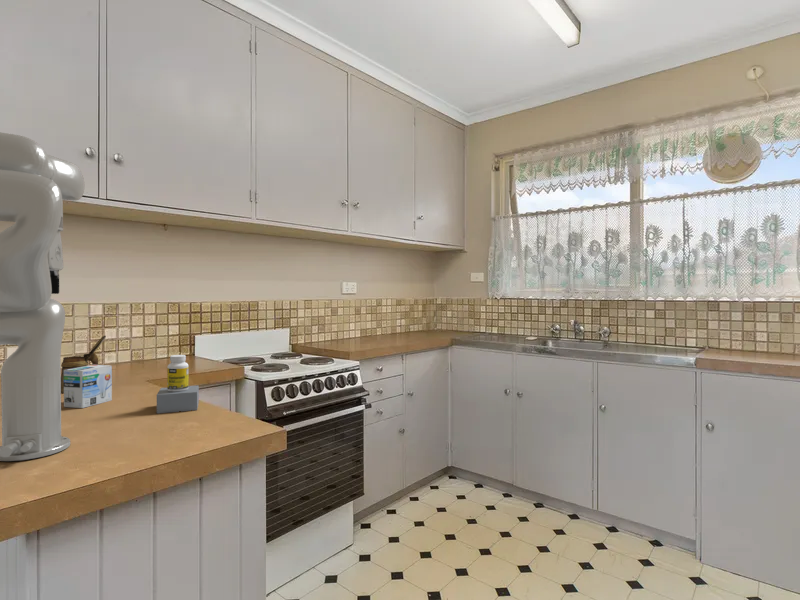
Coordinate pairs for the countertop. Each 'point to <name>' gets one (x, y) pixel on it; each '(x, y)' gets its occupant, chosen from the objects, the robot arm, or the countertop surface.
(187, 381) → the supplement bottle
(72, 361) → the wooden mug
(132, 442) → the countertop surface
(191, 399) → the riser base
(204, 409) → the countertop surface
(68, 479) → the countertop surface
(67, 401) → the light bulb box
